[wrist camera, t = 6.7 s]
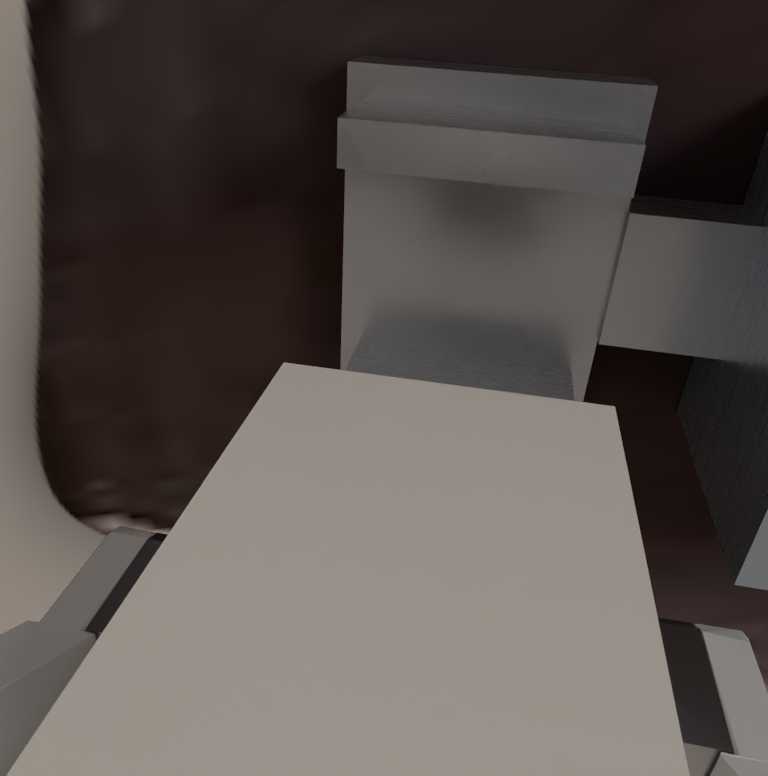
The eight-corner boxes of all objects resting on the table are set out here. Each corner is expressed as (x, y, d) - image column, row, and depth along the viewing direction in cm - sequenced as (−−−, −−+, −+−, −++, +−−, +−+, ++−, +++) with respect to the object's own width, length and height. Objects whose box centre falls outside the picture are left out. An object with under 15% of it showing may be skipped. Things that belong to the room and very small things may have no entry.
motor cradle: (351, 366, 22) (284, 510, 16) (360, 55, 17) (272, 96, 12) (1044, 461, 20) (1266, 672, 14) (1272, 126, 15) (1762, 226, 9)
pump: (292, 670, 13) (135, 1114, 8) (283, 362, 10) (3, 778, 5) (536, 717, 12) (539, 1233, 7) (614, 406, 9) (723, 941, 4)
